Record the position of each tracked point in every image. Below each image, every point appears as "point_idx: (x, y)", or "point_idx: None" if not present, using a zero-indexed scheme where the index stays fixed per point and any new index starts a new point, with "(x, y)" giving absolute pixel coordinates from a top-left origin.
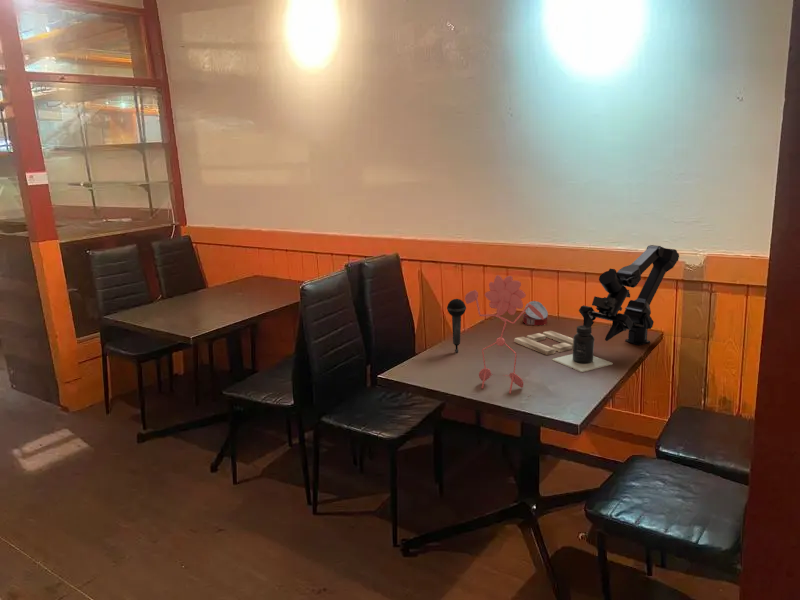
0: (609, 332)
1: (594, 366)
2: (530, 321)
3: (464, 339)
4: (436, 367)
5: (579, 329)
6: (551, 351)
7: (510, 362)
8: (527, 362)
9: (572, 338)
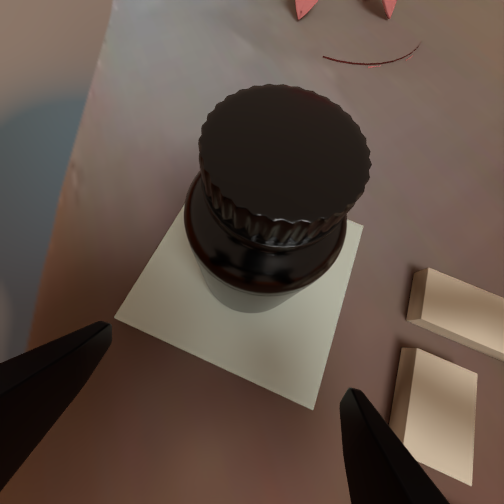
0: (15, 369)
1: (181, 228)
2: None
3: None
4: None
5: (303, 99)
6: (419, 294)
7: (446, 145)
8: (409, 168)
9: None
